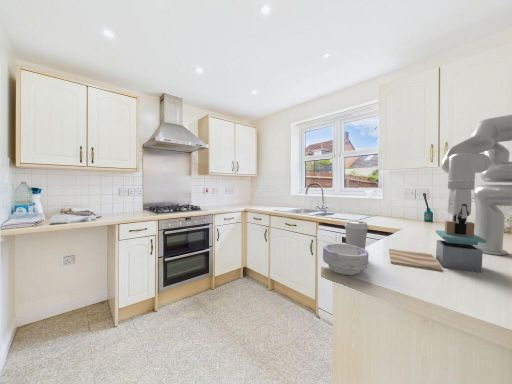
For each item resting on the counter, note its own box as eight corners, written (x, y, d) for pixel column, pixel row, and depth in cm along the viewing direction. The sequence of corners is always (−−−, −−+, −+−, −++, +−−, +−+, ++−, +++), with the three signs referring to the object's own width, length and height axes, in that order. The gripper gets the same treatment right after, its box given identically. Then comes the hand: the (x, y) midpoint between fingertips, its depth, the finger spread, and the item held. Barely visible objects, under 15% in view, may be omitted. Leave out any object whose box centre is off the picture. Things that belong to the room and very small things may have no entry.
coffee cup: (361, 262, 89) (362, 225, 89) (339, 256, 96) (340, 221, 96) (371, 257, 96) (372, 222, 95) (349, 252, 103) (350, 219, 102)
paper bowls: (378, 276, 76) (379, 253, 76) (340, 281, 72) (340, 256, 72) (347, 261, 91) (348, 241, 90) (314, 264, 86) (315, 244, 86)
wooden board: (389, 250, 106) (389, 248, 106) (431, 255, 99) (431, 254, 99) (390, 263, 89) (390, 261, 89) (442, 271, 81) (442, 269, 81)
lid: (435, 235, 96) (436, 218, 95) (473, 239, 90) (474, 220, 89) (442, 242, 85) (443, 223, 85) (485, 247, 79) (486, 226, 79)
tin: (435, 258, 95) (436, 239, 95) (470, 263, 90) (471, 243, 89) (442, 266, 86) (443, 246, 85) (481, 272, 80) (482, 250, 80)
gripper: (443, 185, 95) (441, 228, 96) (454, 186, 81) (452, 236, 82) (466, 185, 92) (464, 230, 93) (482, 186, 77) (479, 239, 78)
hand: (458, 232), depth 87 cm, fingers closed on lid, 3 cm apart
